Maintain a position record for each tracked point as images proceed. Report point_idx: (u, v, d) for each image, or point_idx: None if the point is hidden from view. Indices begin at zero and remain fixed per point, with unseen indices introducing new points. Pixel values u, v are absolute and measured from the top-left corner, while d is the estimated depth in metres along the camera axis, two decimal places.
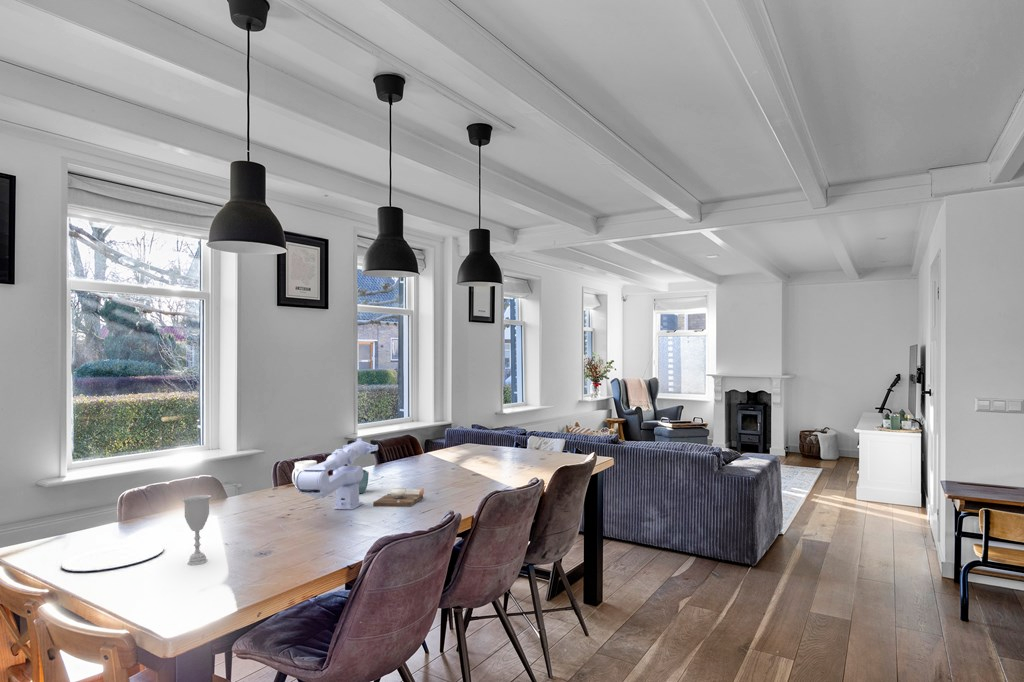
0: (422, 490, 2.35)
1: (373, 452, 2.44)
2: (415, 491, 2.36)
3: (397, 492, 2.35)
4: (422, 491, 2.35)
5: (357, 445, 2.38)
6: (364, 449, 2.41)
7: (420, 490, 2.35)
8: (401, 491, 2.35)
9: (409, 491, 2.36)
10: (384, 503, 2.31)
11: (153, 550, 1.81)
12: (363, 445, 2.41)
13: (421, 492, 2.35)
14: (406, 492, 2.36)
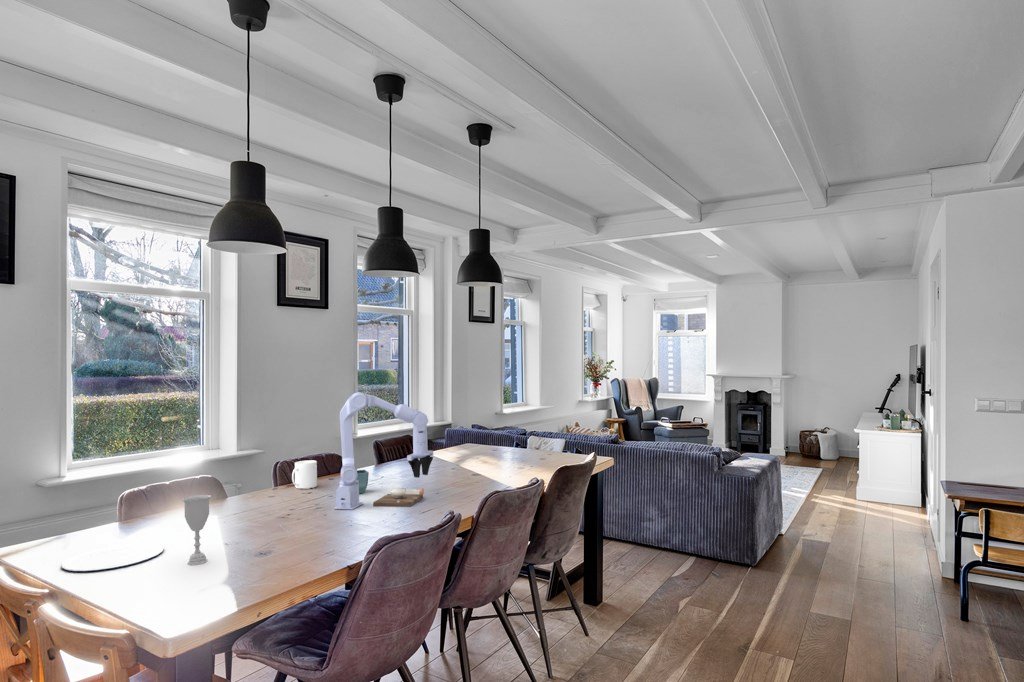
0: (422, 490, 2.35)
1: (408, 459, 2.38)
2: (415, 491, 2.36)
3: (397, 492, 2.35)
4: (422, 491, 2.35)
5: (426, 440, 2.40)
6: (415, 450, 2.39)
7: (420, 490, 2.35)
8: (401, 491, 2.35)
9: (409, 491, 2.36)
10: (384, 503, 2.31)
11: (153, 550, 1.81)
12: (419, 450, 2.38)
13: (421, 492, 2.35)
14: (406, 492, 2.36)
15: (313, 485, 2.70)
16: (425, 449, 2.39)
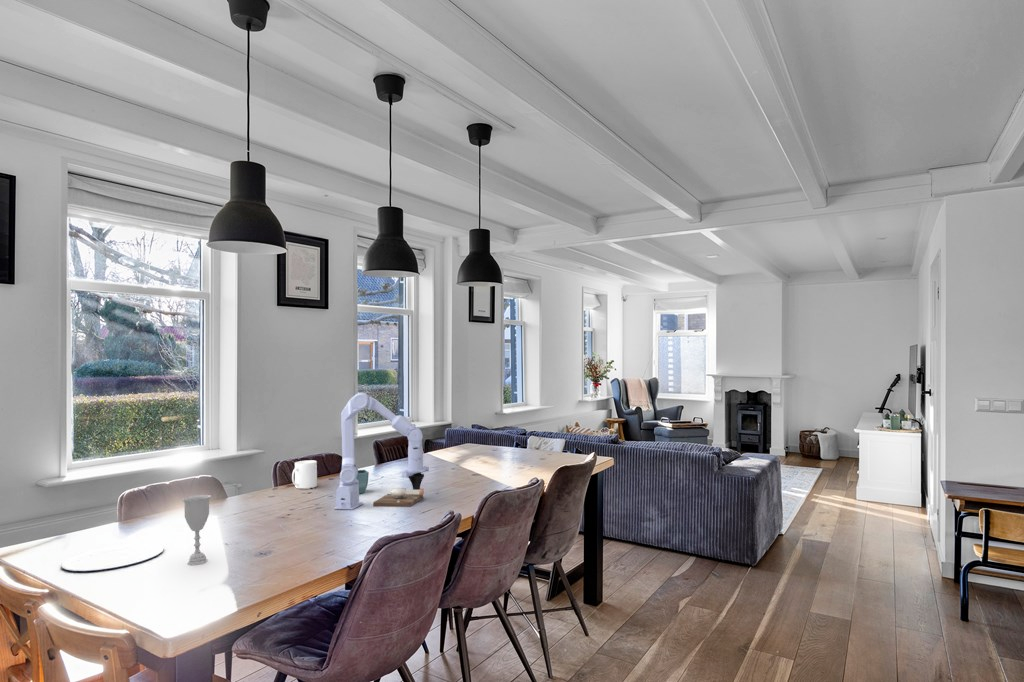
0: (422, 490, 2.35)
1: None
2: (415, 491, 2.36)
3: (397, 492, 2.35)
4: (422, 491, 2.35)
5: (421, 456, 2.37)
6: (411, 466, 2.36)
7: (420, 490, 2.35)
8: (401, 491, 2.35)
9: (409, 491, 2.36)
10: (384, 503, 2.31)
11: (153, 550, 1.81)
12: (414, 467, 2.35)
13: (421, 492, 2.35)
14: (406, 492, 2.36)
15: (313, 485, 2.70)
16: (420, 465, 2.36)
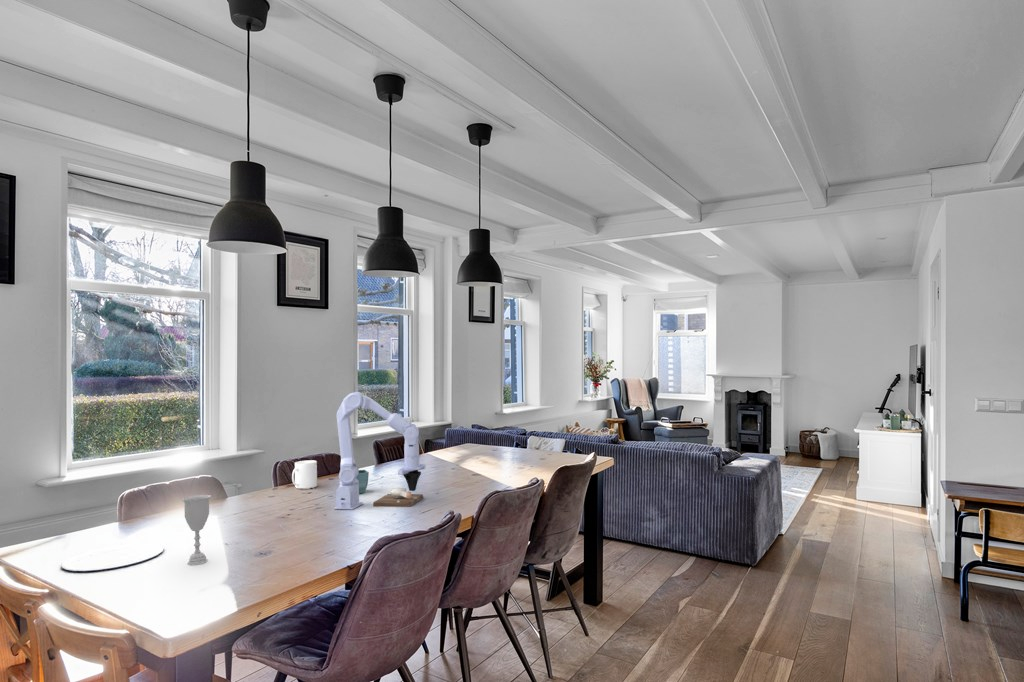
0: (408, 494, 2.29)
1: None
2: (404, 494, 2.31)
3: (392, 492, 2.35)
4: (408, 495, 2.29)
5: (417, 454, 2.35)
6: (407, 464, 2.34)
7: (406, 493, 2.30)
8: (395, 491, 2.35)
9: (402, 493, 2.33)
10: (384, 503, 2.31)
11: (153, 550, 1.81)
12: (410, 464, 2.33)
13: (407, 496, 2.29)
14: (400, 493, 2.34)
15: (313, 485, 2.70)
16: (416, 463, 2.34)
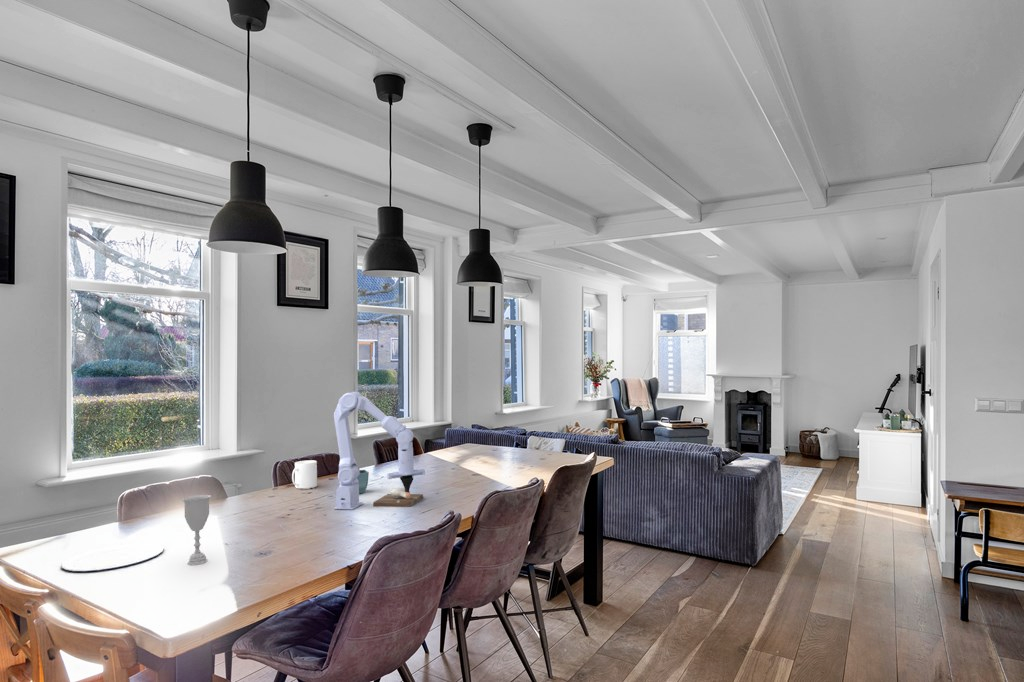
0: (407, 494, 2.29)
1: None
2: (404, 494, 2.31)
3: (392, 492, 2.36)
4: (407, 495, 2.29)
5: (411, 458, 2.32)
6: (399, 468, 2.32)
7: (405, 494, 2.29)
8: (395, 491, 2.35)
9: (401, 493, 2.33)
10: (384, 503, 2.31)
11: (153, 550, 1.81)
12: (401, 469, 2.31)
13: (406, 496, 2.29)
14: (400, 493, 2.34)
15: (313, 485, 2.70)
16: (407, 468, 2.31)
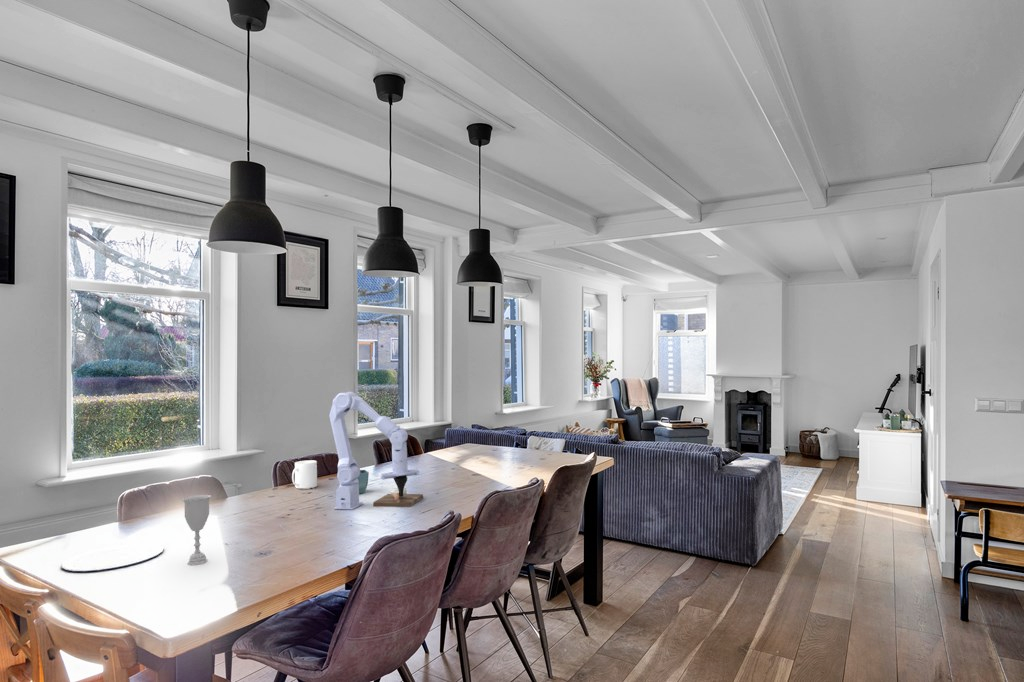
0: (394, 495, 2.28)
1: None
2: None
3: None
4: (394, 496, 2.28)
5: (404, 459, 2.30)
6: None
7: None
8: (392, 491, 2.35)
9: None
10: (384, 503, 2.31)
11: (153, 550, 1.81)
12: (394, 469, 2.30)
13: (394, 497, 2.28)
14: None
15: (313, 485, 2.70)
16: (401, 469, 2.29)
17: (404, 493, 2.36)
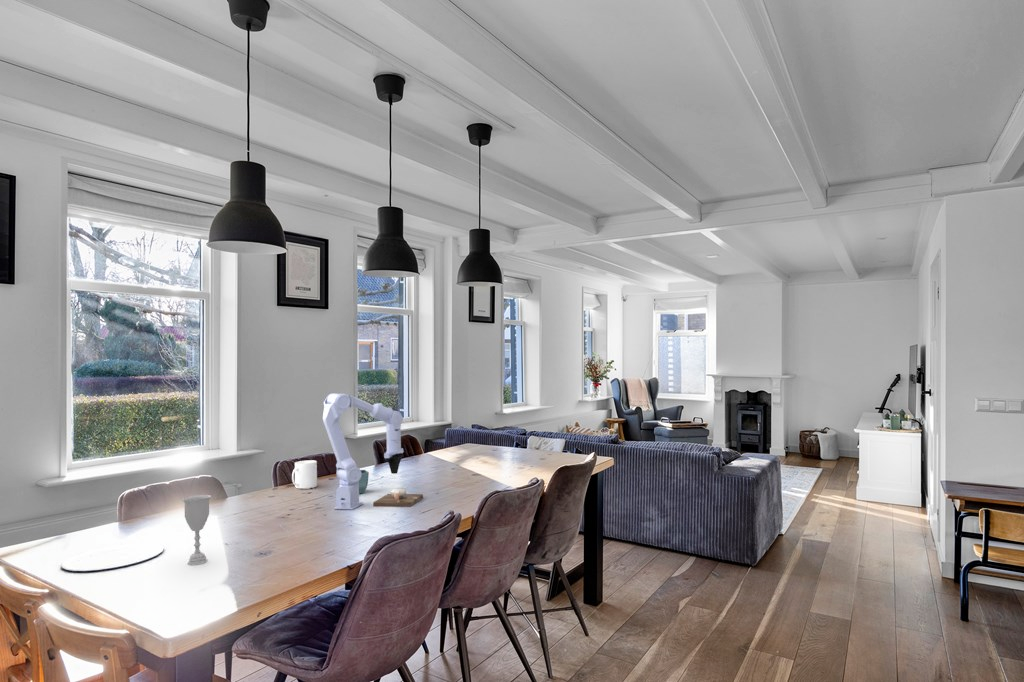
0: (394, 495, 2.28)
1: None
2: None
3: None
4: (394, 496, 2.28)
5: (400, 438, 2.47)
6: (390, 448, 2.44)
7: None
8: (392, 491, 2.35)
9: None
10: (384, 503, 2.31)
11: (153, 550, 1.81)
12: (394, 448, 2.44)
13: (394, 497, 2.28)
14: None
15: (313, 485, 2.70)
16: (399, 447, 2.46)
17: (404, 493, 2.36)
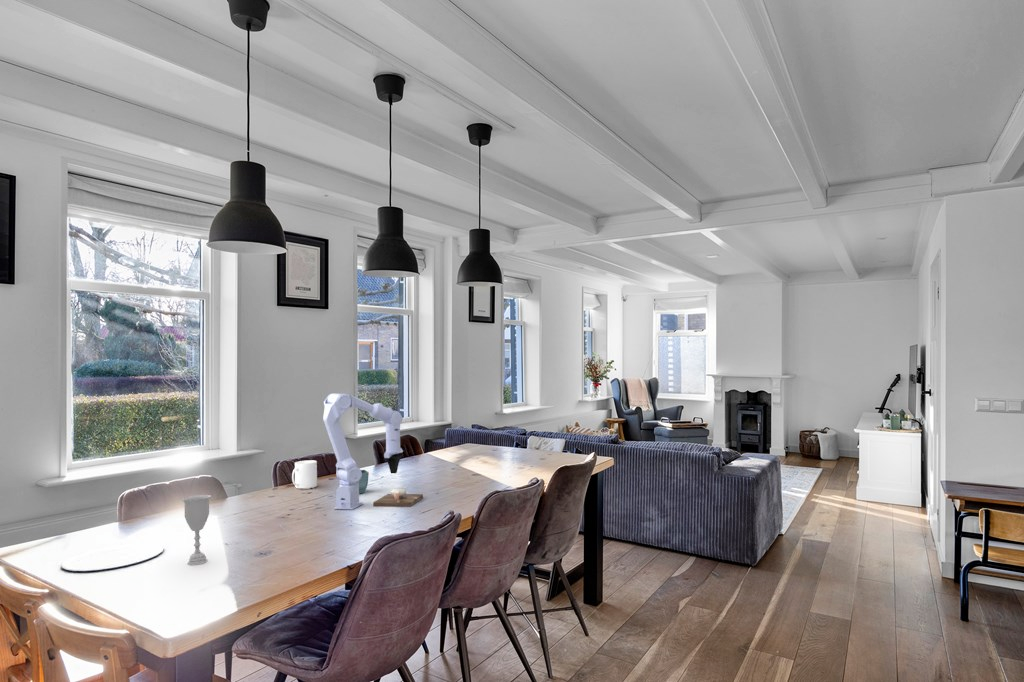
0: (394, 495, 2.28)
1: None
2: None
3: None
4: (394, 496, 2.28)
5: (399, 437, 2.48)
6: (390, 447, 2.44)
7: None
8: (392, 491, 2.35)
9: None
10: (384, 503, 2.31)
11: (153, 550, 1.81)
12: (394, 448, 2.44)
13: (394, 497, 2.28)
14: None
15: (313, 485, 2.70)
16: (399, 446, 2.46)
17: (404, 493, 2.36)
